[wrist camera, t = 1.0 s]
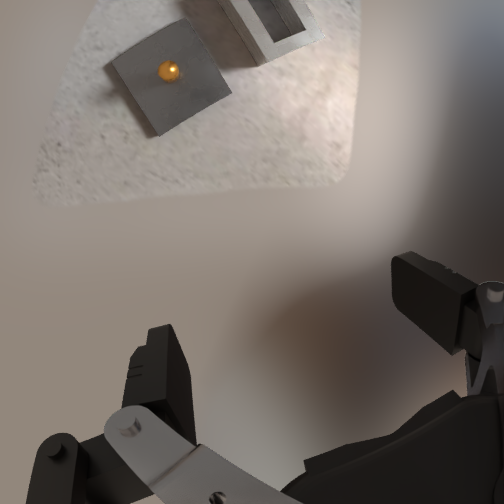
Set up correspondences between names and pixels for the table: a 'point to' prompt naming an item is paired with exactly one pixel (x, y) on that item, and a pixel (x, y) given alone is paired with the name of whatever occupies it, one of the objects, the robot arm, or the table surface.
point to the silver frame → (257, 37)
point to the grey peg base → (171, 76)
